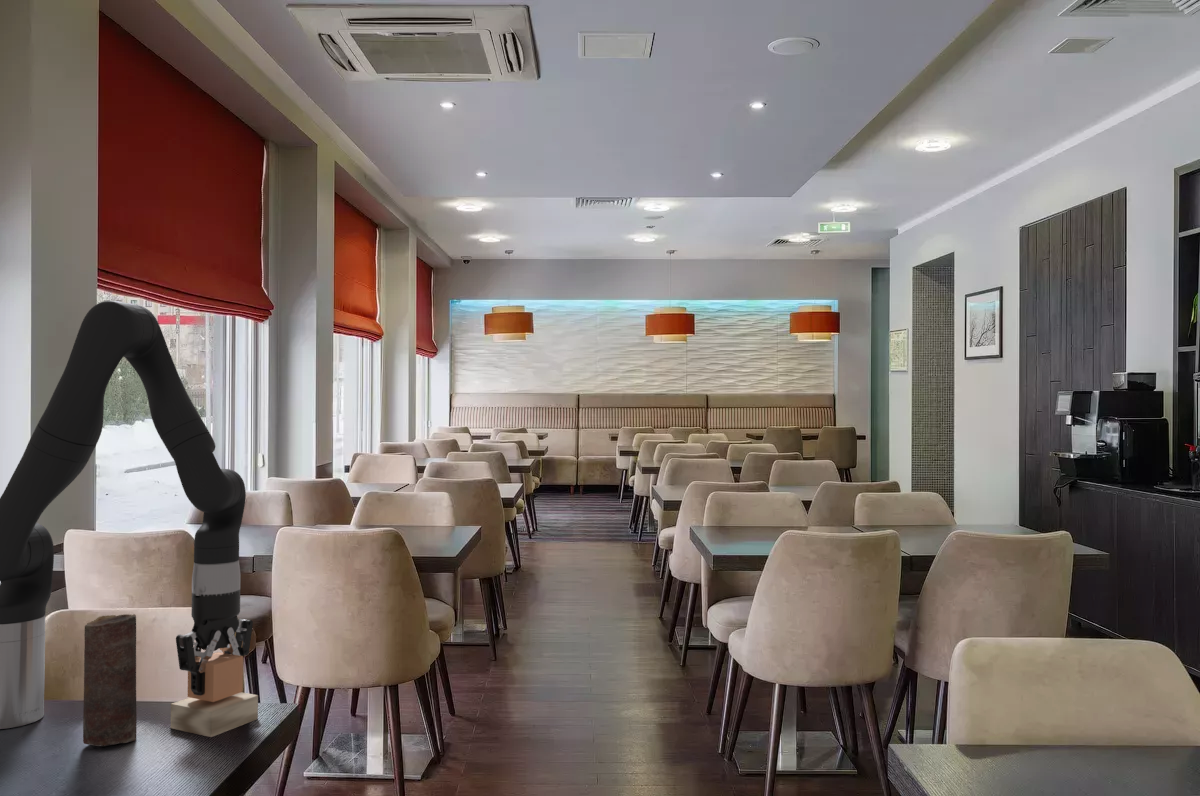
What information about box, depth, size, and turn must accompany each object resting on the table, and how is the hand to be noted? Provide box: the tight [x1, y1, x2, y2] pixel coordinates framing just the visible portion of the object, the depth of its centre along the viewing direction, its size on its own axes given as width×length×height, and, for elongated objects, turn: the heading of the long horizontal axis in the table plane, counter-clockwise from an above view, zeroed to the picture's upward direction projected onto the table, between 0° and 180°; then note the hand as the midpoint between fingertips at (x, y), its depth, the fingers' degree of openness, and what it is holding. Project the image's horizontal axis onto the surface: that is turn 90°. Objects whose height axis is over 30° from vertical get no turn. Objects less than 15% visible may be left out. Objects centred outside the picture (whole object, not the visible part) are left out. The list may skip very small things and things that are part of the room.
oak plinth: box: [170, 692, 259, 738], centre depth 147 cm, size 10×10×4 cm
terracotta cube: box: [187, 651, 244, 702], centre depth 147 cm, size 6×6×6 cm
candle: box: [82, 613, 138, 747], centre depth 138 cm, size 8×7×20 cm
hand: (215, 688), depth 147 cm, fingers closed on terracotta cube, 5 cm apart
